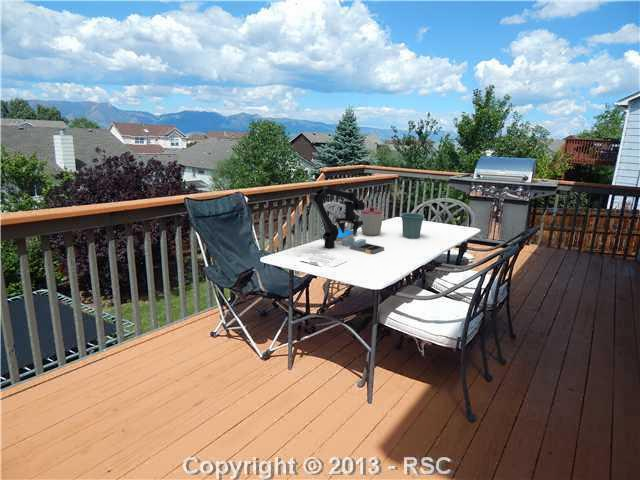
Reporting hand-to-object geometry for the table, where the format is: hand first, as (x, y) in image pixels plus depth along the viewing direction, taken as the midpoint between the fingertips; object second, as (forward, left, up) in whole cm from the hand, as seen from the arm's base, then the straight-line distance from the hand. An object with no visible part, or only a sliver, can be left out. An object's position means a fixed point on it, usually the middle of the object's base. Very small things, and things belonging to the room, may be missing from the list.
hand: (348, 234), depth 269 cm
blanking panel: (0, 0, -8) cm, 8 cm away
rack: (-2, -16, -8) cm, 18 cm away
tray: (-36, -7, -9) cm, 38 cm away
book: (+14, +19, -9) cm, 25 cm away
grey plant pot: (+38, +8, -8) cm, 40 cm away
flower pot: (+52, -18, -8) cm, 56 cm away
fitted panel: (-2, -10, -7) cm, 13 cm away
